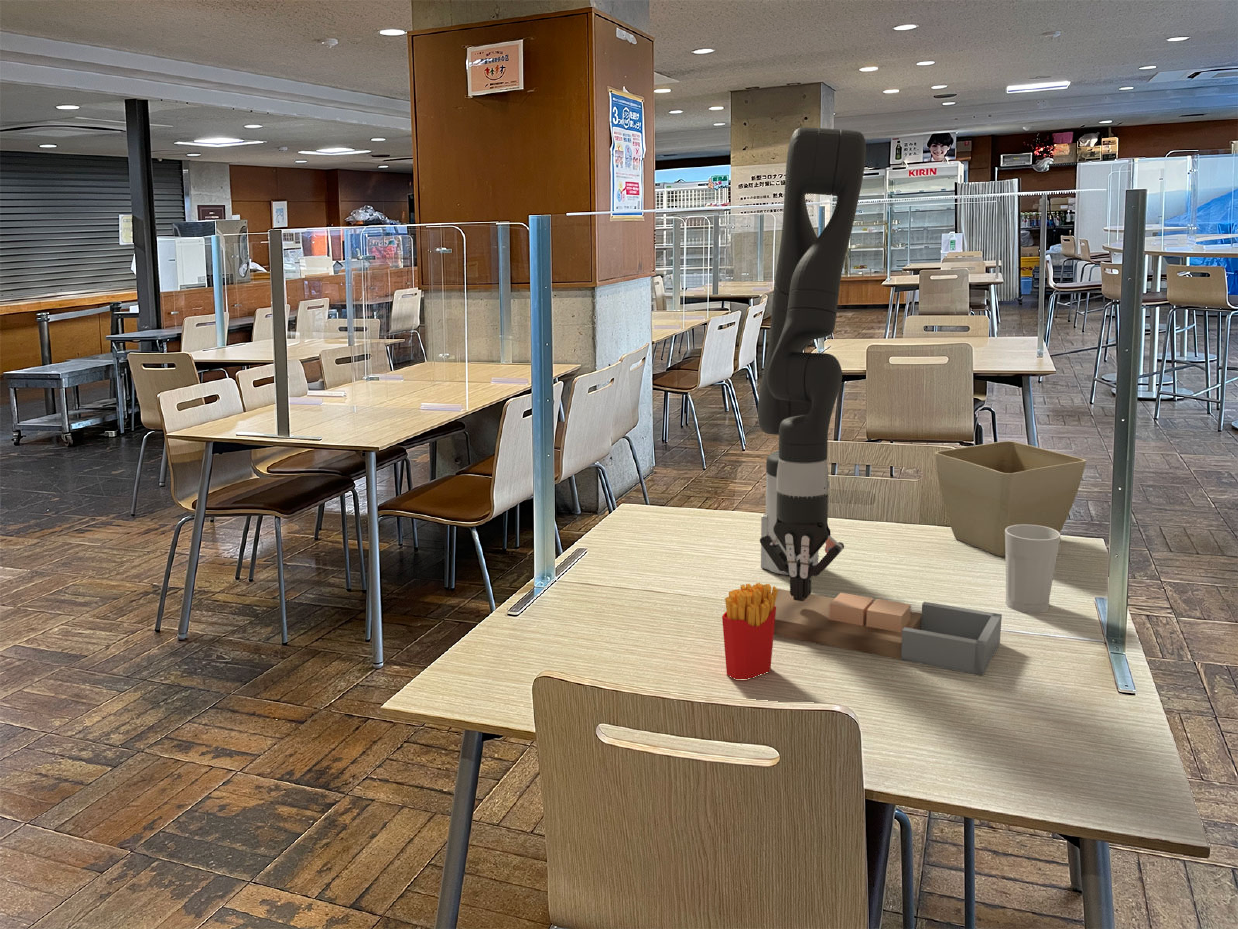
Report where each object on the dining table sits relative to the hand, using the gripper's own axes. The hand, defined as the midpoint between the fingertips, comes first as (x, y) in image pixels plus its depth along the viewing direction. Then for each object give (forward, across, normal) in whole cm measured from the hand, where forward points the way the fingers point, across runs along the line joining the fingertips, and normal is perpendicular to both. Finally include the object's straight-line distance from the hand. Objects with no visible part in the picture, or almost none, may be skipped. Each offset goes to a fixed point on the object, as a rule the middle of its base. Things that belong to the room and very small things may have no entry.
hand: (800, 599), depth 153 cm
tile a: (+2, +8, 0) cm, 8 cm away
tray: (+4, +22, 0) cm, 23 cm away
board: (+4, +5, 0) cm, 7 cm away
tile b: (+2, +13, 0) cm, 13 cm away
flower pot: (+4, +21, +53) cm, 57 cm away
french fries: (+4, -1, -19) cm, 19 cm away
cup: (+4, +29, +23) cm, 37 cm away
